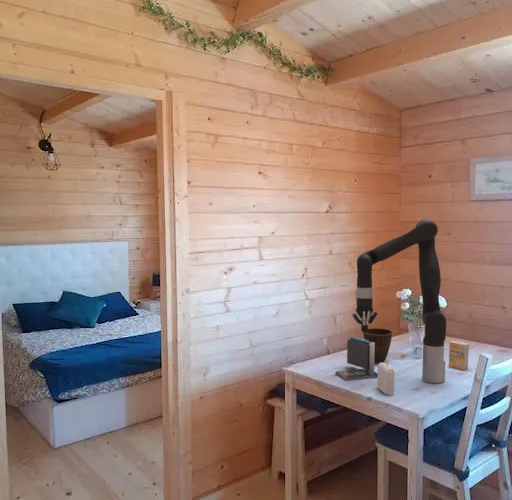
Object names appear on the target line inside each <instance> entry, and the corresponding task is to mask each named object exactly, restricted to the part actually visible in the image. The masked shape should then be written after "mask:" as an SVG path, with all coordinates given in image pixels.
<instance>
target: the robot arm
mask: <svg viewBox="0 0 512 500" xmlns="http://www.w3.org/2000/svg"><path fill="white" fill-rule="evenodd" d="M438 228H439V227H438V225H437V224H436V223H435V222H434V221H433V220H431V219H421V220H420V221H418V222H417V223H416V225H415V227H414V228H413V229H411V230H409V231H408V232H406V233H404V234H403V235H400V236H398V237H395V238H393V239H390V240H387V241H385V242H384V243H382V244H380V245H378V246H376V247H375V248H373V249H371V250H369V251H365V252H364V253H362V254H360V255H359V256H358V257H357V258H356V270H357V271H356V273H357V277H356V294H355V296H356V297H355V298H356V299H355V300H356V303H355V304H356V308H355V312H353V313H351V317H352V318H353V319H354V321H356V323H357V324H359V325H360V329H361V332H362V333H367V331H368V329H369V325H370V324H373V321H374V320H375V319H376V318H377V316H378V312H376V311H375V310H374V308H373V305H374V303H373V302H374V301H373V299H374V298H373V297H374V293H373V292H374V291H373V277H372V274H373V265H375V264H377V263H379V262H383V261H386V260H387V259H390V258H391V257H393V256H395V255H397V254H398V253H401V252H403V251H404V250H407V249H409V248H410V247H413V246H414V245H417V246H418V274H419V275H418V276H419V284H420V292H421V296H422V297H421V298H422V322H423V324H424V326H425V327H424V329H425V330H424V337H423V340H422V370H421V371H422V373H421V375H422V376H421V379H422V382H425V383H430V384H442V383H443V382H446V361H445V360H444V359H445V356H444V355H445V340H446V337H447V336H446V335H447V318H446V316H445V315H444V313H442V311H441V307H440V299H439V298H440V297H439V296H440V291H441V283H442V281H441V280H442V279H441V268H440V263H439V258H438V255H437V251H436V236H437V234H438V231H439V229H438Z"/></svg>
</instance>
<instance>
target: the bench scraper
mask: <svg viewBox="0 0 512 500" xmlns="http://www.w3.org/2000/svg"><path fill="white" fill-rule="evenodd" d="M346 342H347V344H346V345H347V346H346V347H347V350H346V353H347V354H346V364H349V365H352V366H355V367H359V368H360V369H364V368H365V369H369V371H375V363H374V353H375V343H374V342H370V341H368V340H364V338H359V337H356V336H353V335H352V336H350V337H349V338H348V339H346Z"/></svg>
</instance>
